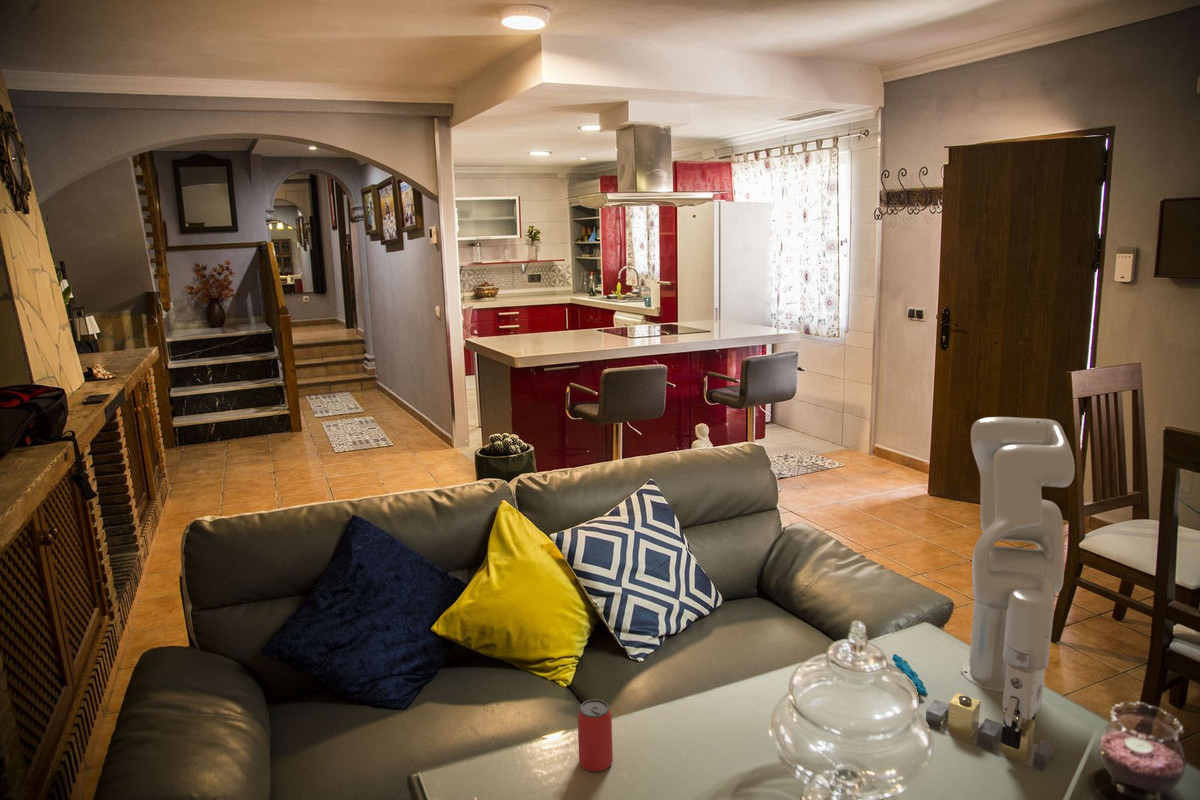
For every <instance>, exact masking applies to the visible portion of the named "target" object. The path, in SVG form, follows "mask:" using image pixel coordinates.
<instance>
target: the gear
mask: <svg viewBox="0 0 1200 800" xmlns="http://www.w3.org/2000/svg"><path fill="white" fill-rule="evenodd" d="M891 660H892V661H893V662H894V666H895V667H896V668H897V669H898V670H899V669H900V670H901V671H902V672H903V673H905V674H906V675H907V676H908V677H909V678H910V679H911V680H912V681H913V683H914V684H915V685H914V687H915V686H916V687H915V689H916V688H917V690H918V691H917V690H916V691H917V693H919V694H921V695H923V696H924V695H927V694H928V692H927V689H926V687H925V685H924V682H923V681H922V679H920V678H919V674H917V672H916V671H914V670H913V669H912V666H911V665H910V664H909V661H908V660H907V659H904V658H903V657H902V656H901V655H898V654H897V653H894V654H893V655H892V658H891Z"/></svg>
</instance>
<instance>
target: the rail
mask: <svg viewBox="0 0 1200 800" xmlns="http://www.w3.org/2000/svg"><path fill="white" fill-rule="evenodd" d="M948 715H949V703H946V702H943V701H940V700H937V699H934V700H933V702H932V703H931V704H930V705H929V706H928V708H926V711H925V721H927V723H928V725H929V727H930V728H929V727H928V728H929V729H932V730H934V731H938V732H939V733H942V734H946V735H948V736H950V737H952V738H954V739H958V740H959V741H962V742H966V743H968V744H970V745H973V746H974V747H975V746H976V747H978V748H981V749H983V750H985V751H989V752H991V753H993V754H996V755H998V756H1001V757H1002V758H1006V759H1008V760H1011V761H1013V762H1016V763H1019V764H1021V765H1024V766H1027V767H1029V768H1032V769H1033V770H1035V771H1036V770H1037V771H1039V772H1042V773H1044V771H1045V769H1046V767H1047V765H1048V763H1049V761H1050V759H1051V757H1052V755H1053V753H1054V750H1053V748H1054V747H1053V745H1054V742H1052V741H1049V740H1046V739H1044V738H1040V740H1039V743H1038V744H1037V743H1034V742H1033V746H1032V749H1031V751H1030V753H1029V755H1028V757H1027V759H1024V758H1021V757H1019V756H1016V755H1013V754H1011V753H1008V752H1005V751H1003V750H1001V734H1002V724H1003V723H1001V722H997V721H995V720H992V719H988V718H985V719H984V721H983V722H982V723H981V722H979V724H978V728H977V730H976V731H975V733H974V734H973V736H972V737H971V738H969V737H967V736H964V735H962V734H959V733H956V732H954V731H951V730H949V729H947V728H948Z"/></svg>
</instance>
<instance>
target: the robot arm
mask: <svg viewBox="0 0 1200 800" xmlns="http://www.w3.org/2000/svg"><path fill="white" fill-rule="evenodd" d="M970 444H971V451H972V454H973V457H974V459H975V462H976V465H977V469H978V472H979V475H980V497H979V498H980V502H979V503H980V509H979V510H980V519H979V520H980V529H981V530H982V534H981V535H980V536H979V538H978V539H977V541H976V543H975V546H974V549H973V552H972V558H971V559H972V561H971V567H972V571H971V573H972V574H971V575H972V579H971V580H972V594H973V597H974V599H973V600H974V601H973V610H972V611H973V613H972V614H973V615H972V625H971V637H970V639H971V640H970V650H969V660H968V661H967V662H964V664H962V665H961V669H960V675H962V676H963V677H964V678H965V679H966V680H967V681H969V682H970V683H972V684H973V685H975V686H978V687H980V688H983V689H986V690H990V691H994V692H995V691H996V692H1003V695H1002V710H1003V712H1004V717H1003V719H1002V720H1003V722H1002V723H1001V724H1002V734H1001V743H1002V744H1005V745H1007V746H1010V747H1012V748H1015V749H1019V748H1020V742H1021V732H1022V730H1020V727H1021V723H1022V719H1026V720H1030V719H1033V720H1035V719H1036V712H1037V711H1038V709H1039V707H1040V705H1041V703H1042V702H1043V696H1044V681H1045V680H1044V679H1045V670H1047V668H1048V667H1049V659H1050V649H1051V642H1052V641H1051V639H1052V631H1053V621H1054V615H1055V614H1054V613H1055V599H1056V598H1055V597H1056V595H1057V594H1059V593H1060V592H1061V590H1062V588H1063V585H1064V578H1065V573H1064V570H1065V561H1064V560H1065V559H1064V557H1065V555H1064V554H1065V553H1064V546H1065V545H1064V519H1063V515H1062V512H1061V509H1060V508H1059V506H1058V505H1057V503H1055V502H1053V501H1052V500H1047V499H1043V498H1042V497H1043V496H1042V487H1049V488H1050V487H1051V488H1067V487H1068V486H1070V485H1071V484H1072V482H1073V481H1074V478H1075V473H1076V471H1075V468H1076V465H1075V459H1074V456H1073V452H1072V448H1071V445H1070V442H1069V441H1068V438H1067V436H1066V433H1065V432H1064V429H1063V427H1062V425H1061V423H1059V422H1058V421H1056V420H1053V419H1049V418H1033V417H1031V418H1030V417H1013V416H993V417H992V416H989V417H988V416H987V417H983V418H980V419H977V420H976V421H974V422H973V424H972V425H971V430H970ZM998 541H1008V542H1022V543H1031V544H1032V543H1033V544H1035V545H1036V547H1037V549H1035V548H1025V547H1023V548H1022V547H1013V546H1001V545H995V544H997V542H998ZM1014 716H1015V717H1018V721H1017V724H1016V722H1015V721H1013V720H1014Z"/></svg>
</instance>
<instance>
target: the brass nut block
mask: <svg viewBox="0 0 1200 800" xmlns="http://www.w3.org/2000/svg"><path fill="white" fill-rule="evenodd" d="M1013 721H1015V722H1016V724H1017V721H1018V717H1015V716H1014V720H1013ZM1035 726H1036V720H1035V719H1034V720H1033V719H1030V720H1026V719H1022V723H1021V727H1020V730H1022V732H1021V742H1020V748H1019V749H1015V748H1012V747H1010V746H1007V745H1005V744H1002V743H1001V750H1003V751H1005V752H1008V753H1011V754H1013V755H1016V756H1019V757H1021V758H1024V759H1027V757H1028V755H1029V753H1030V751H1031V749H1032V746H1033V743H1034V736H1035V735H1034V734H1035Z"/></svg>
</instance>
